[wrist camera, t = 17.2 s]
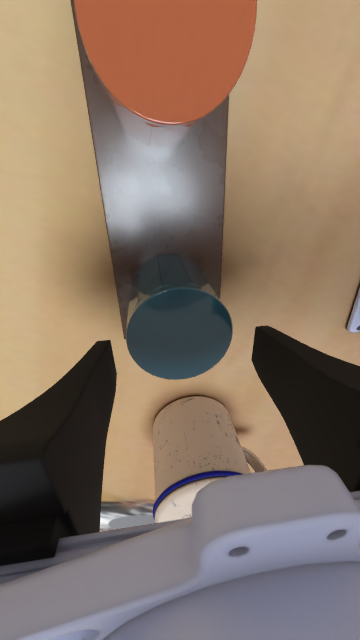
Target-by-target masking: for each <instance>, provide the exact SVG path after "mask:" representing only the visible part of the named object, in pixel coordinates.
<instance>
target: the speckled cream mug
mask: <svg viewBox="0 0 360 640" xmlns="http://www.w3.org/2000/svg"><path fill="white" fill-rule="evenodd" d="M153 451H154V477H155V504H154V507H153V517H154V520H155V523H160V522H166V521H172V520H179V519H185V518H190V517H192V503H193V501H194V499H195V496H196V494H197V493H198V491H199V490H201V489H202V488H203V487H205V486H206V485H208V484H209V483H210V482H212V481H215V480H218V479H222V478H225V477H228V476H235V475H242V474H248V473H251V472H250V469H249V467H248V464H247V462H248V463H249V464H250V465H251V467H252V468H253V469H254V470H255V472H262V471H267V470H266V468H265V466H264V465H263V463H262V462H261V461H260V459H259V458H258V457H257V456H256V455H255V454H254V453H252V452H251V451H250V450H248V449H246V448H244V447H242V446H241V445H240V442H239V440H238V437H237V434H236V432H235V429H234V426H233V424H232V421H231V418H230V416H229V413H228V411H227V410H226V408H225V407H224V406H223V405H222V404H221V403H219V402H218V401H216V400H214V399H211V398H207V397H200V396H194V397H187V398H182V399H179V400H177V401H174V402H172V403H171V404H169V405H167V406H166V407H165V408H164V409H162V410H161V411H160V413H159V414H158V415H157V417H156V419H155V421H154V424H153Z"/></svg>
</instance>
